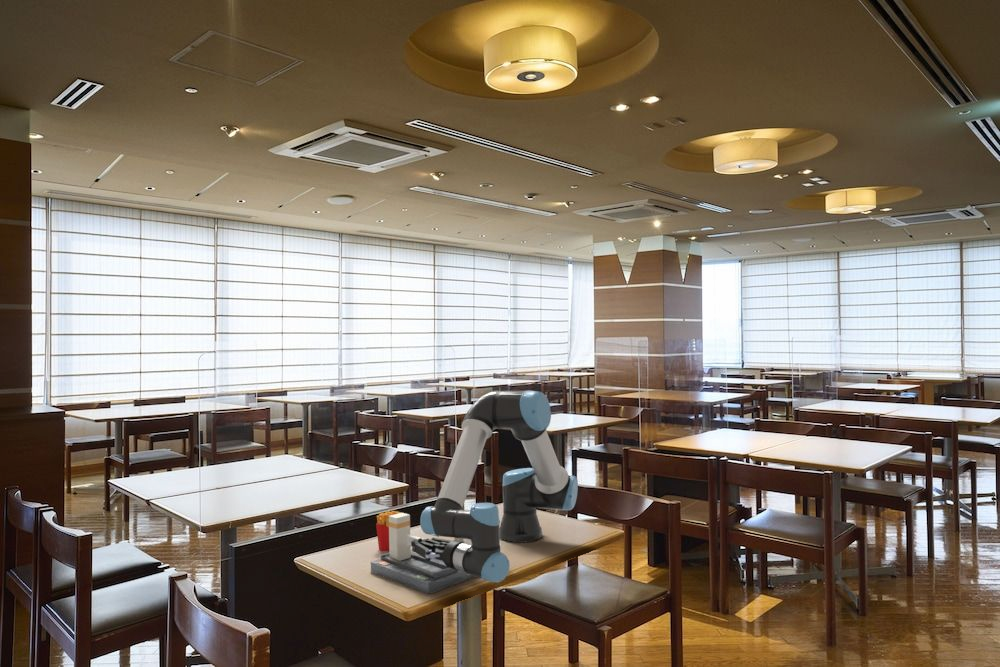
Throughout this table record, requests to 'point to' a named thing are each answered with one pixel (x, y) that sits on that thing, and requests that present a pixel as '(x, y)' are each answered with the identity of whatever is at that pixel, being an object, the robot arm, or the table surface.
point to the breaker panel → (419, 571)
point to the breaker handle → (399, 536)
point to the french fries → (384, 529)
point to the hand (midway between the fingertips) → (408, 539)
